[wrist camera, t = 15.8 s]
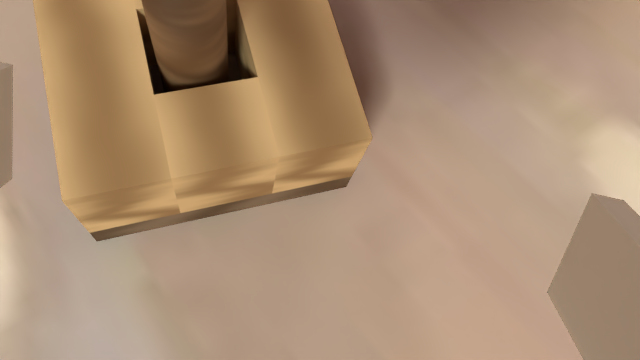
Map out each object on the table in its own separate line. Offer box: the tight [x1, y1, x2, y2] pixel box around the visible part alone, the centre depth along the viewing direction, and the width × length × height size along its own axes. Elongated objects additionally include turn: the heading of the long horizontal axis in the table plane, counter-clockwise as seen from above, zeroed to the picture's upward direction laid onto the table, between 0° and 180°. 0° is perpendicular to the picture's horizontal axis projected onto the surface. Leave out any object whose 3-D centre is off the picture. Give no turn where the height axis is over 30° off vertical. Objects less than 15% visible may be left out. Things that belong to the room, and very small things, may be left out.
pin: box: [141, 0, 229, 93], centre depth 32 cm, size 4×4×12 cm
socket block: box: [33, 0, 373, 241], centre depth 36 cm, size 16×15×8 cm
